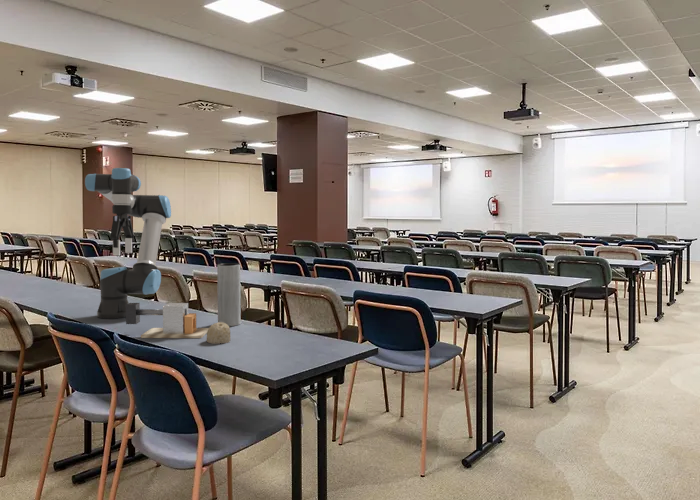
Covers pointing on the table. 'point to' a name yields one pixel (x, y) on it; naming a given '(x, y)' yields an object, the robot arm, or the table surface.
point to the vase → (229, 294)
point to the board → (159, 334)
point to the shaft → (138, 312)
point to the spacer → (190, 323)
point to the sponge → (218, 333)
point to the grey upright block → (174, 318)
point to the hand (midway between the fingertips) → (122, 254)
